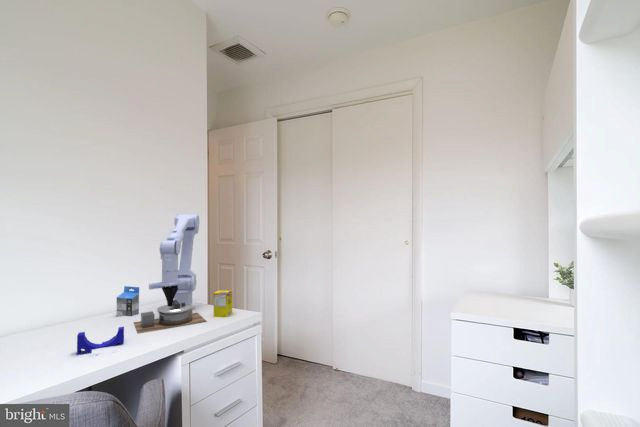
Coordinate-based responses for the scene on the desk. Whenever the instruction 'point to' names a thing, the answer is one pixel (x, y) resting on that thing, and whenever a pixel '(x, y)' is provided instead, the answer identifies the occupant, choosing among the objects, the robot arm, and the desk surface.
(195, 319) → the walnut board
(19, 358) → the desk surface
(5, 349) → the desk surface
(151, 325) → the grey dish and cube
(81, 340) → the cable clip
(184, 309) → the lid
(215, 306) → the supplement box
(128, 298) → the grey blue carton
